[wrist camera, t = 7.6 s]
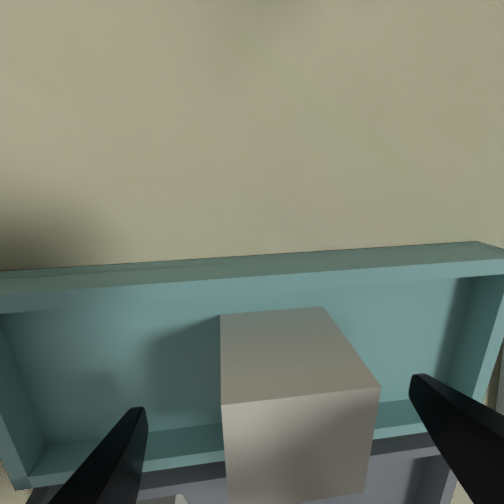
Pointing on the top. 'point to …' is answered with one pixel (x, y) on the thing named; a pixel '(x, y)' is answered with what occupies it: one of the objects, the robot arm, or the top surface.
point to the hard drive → (501, 388)
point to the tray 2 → (372, 500)
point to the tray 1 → (208, 343)
